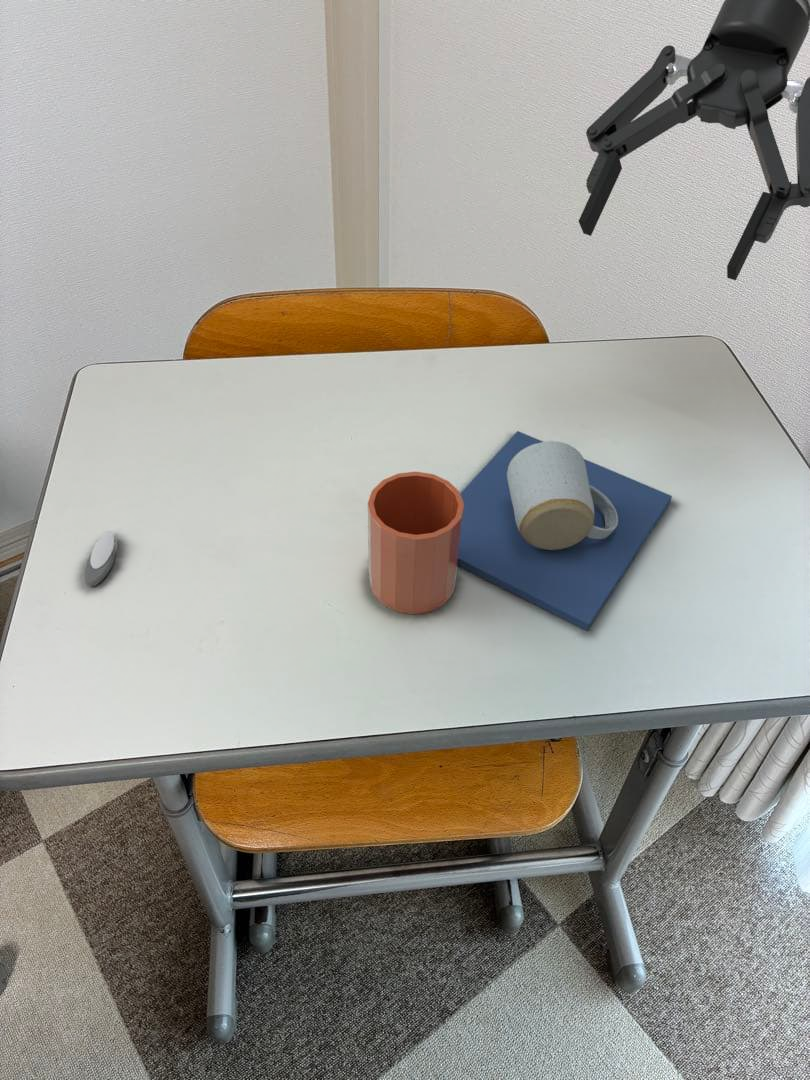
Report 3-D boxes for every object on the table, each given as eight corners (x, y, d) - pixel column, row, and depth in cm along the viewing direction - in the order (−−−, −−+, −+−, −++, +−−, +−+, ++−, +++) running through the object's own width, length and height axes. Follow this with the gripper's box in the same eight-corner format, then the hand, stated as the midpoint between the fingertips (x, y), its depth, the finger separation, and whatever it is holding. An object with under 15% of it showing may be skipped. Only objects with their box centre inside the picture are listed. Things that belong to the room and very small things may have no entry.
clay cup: (471, 572, 75) (480, 495, 68) (425, 628, 71) (430, 552, 63) (401, 536, 78) (403, 459, 71) (352, 588, 74) (349, 511, 66)
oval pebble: (104, 590, 73) (101, 583, 72) (78, 587, 73) (75, 580, 72) (126, 538, 77) (123, 531, 76) (101, 536, 77) (98, 529, 76)
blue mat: (669, 502, 82) (672, 495, 82) (587, 631, 71) (589, 624, 70) (516, 437, 89) (517, 430, 88) (418, 545, 77) (418, 538, 77)
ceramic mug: (513, 557, 75) (525, 498, 70) (501, 496, 81) (512, 438, 75) (623, 555, 76) (644, 497, 70) (604, 495, 81) (622, 437, 76)
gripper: (914, 70, 66) (795, 309, 69) (634, 16, 75) (538, 228, 78) (935, 9, 59) (803, 277, 62) (624, -42, 69) (519, 193, 71)
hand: (655, 250), depth 70 cm, fingers open, 13 cm apart
